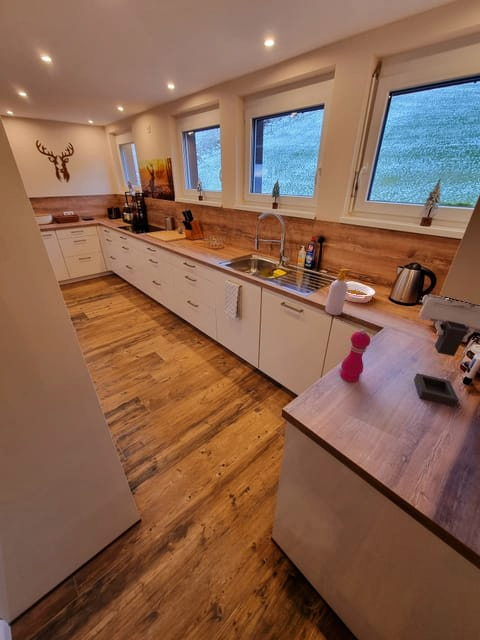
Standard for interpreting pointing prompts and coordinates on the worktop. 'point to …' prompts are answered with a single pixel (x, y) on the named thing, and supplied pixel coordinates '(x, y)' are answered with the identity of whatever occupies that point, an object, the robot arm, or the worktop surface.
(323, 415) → the worktop surface
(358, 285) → the white oval dish
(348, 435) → the worktop surface
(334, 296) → the soap bottle
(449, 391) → the base pad
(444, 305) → the robot arm
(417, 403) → the worktop surface
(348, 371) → the pepper mill
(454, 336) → the dark grey block
